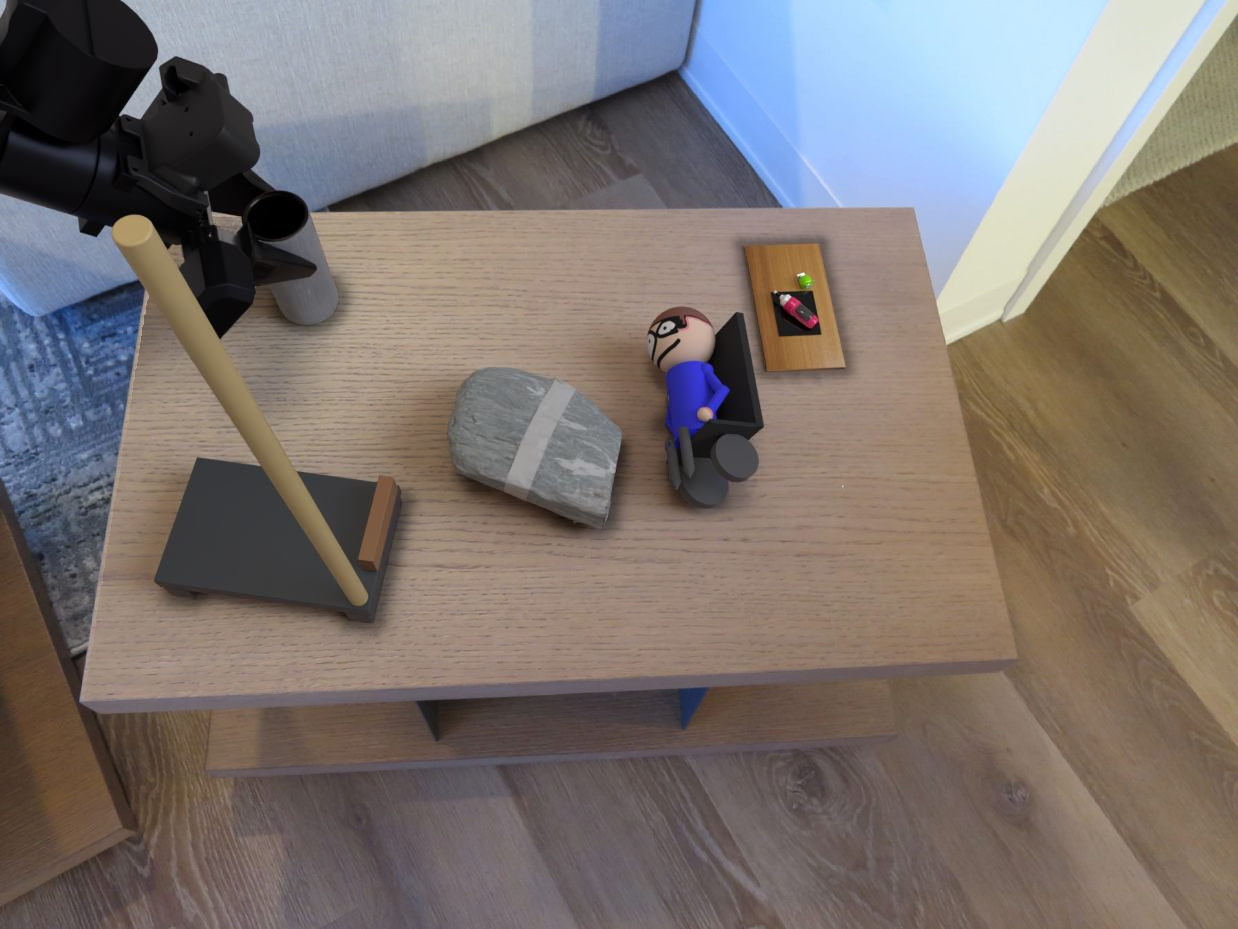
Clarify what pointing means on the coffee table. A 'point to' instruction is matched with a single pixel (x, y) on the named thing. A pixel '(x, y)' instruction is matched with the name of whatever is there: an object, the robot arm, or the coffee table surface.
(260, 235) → the planter
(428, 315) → the coffee table surface
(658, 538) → the coffee table surface
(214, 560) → the stand with wooden pole
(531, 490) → the decorative stone
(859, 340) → the coffee table surface
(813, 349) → the board
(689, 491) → the character figurine
